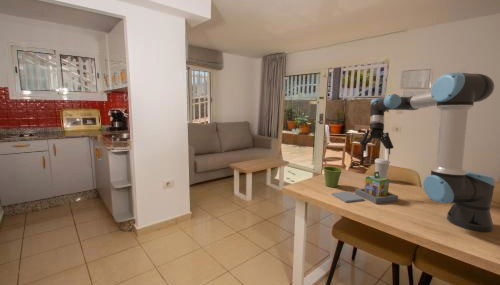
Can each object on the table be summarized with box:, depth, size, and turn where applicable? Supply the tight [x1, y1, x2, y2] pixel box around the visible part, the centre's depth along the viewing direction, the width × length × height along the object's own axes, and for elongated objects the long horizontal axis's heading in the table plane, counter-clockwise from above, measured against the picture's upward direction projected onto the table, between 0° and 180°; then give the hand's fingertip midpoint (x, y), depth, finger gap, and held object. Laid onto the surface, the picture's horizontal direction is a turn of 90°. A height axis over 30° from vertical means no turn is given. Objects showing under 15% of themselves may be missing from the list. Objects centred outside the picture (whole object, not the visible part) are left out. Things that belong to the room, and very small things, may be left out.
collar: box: [354, 187, 399, 205], centre depth 136 cm, size 15×15×3 cm
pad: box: [331, 191, 365, 203], centre depth 135 cm, size 12×12×1 cm
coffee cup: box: [374, 157, 391, 178], centre depth 168 cm, size 10×10×15 cm
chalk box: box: [364, 171, 390, 197], centre depth 135 cm, size 9×9×15 cm
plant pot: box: [322, 166, 343, 188], centre depth 154 cm, size 12×12×11 cm
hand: (376, 158), depth 141 cm, fingers open, 13 cm apart
